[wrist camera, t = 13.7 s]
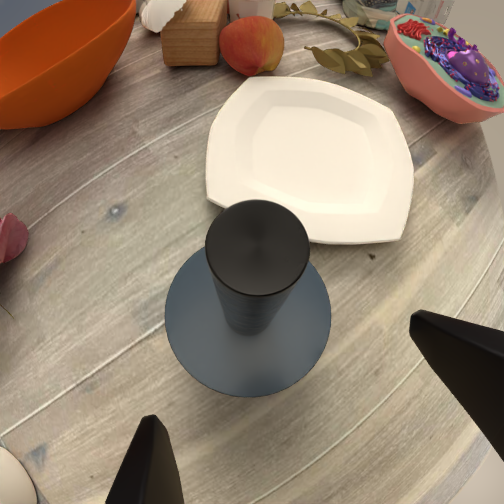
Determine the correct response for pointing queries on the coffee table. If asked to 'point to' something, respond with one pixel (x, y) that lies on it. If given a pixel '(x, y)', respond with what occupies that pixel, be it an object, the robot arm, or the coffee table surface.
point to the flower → (12, 238)
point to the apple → (252, 44)
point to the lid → (249, 303)
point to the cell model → (443, 70)
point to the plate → (313, 158)
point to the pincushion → (159, 13)
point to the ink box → (426, 8)
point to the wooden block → (194, 33)
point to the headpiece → (335, 58)
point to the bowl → (60, 59)
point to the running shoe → (371, 12)
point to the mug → (14, 481)
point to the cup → (251, 8)
